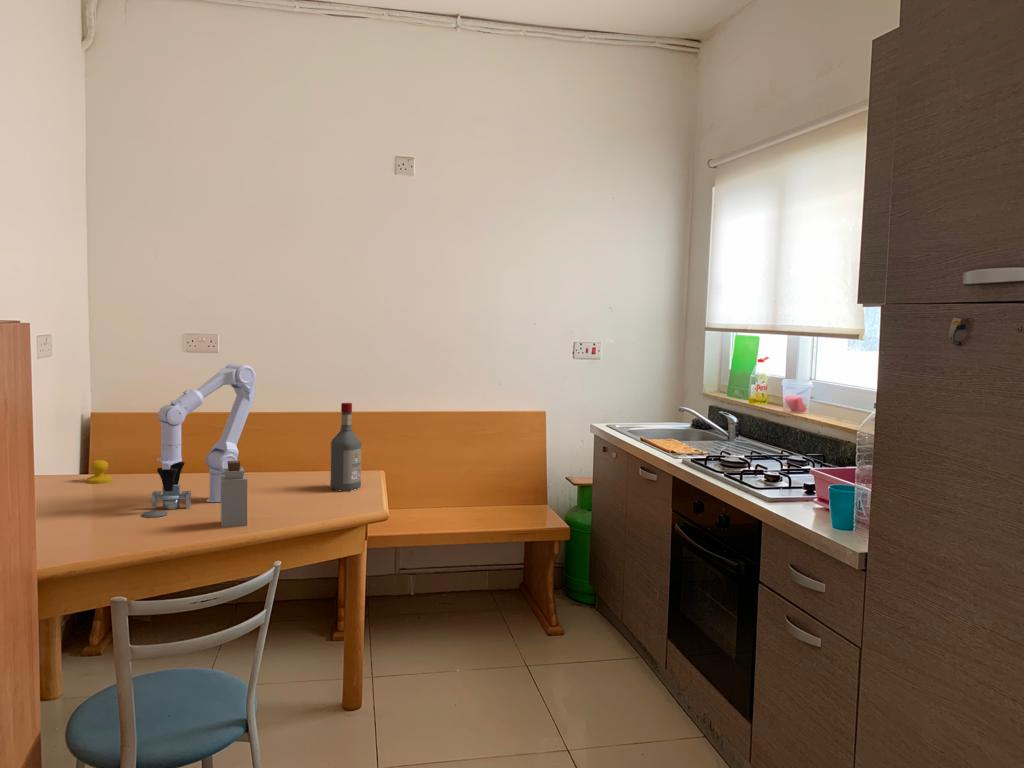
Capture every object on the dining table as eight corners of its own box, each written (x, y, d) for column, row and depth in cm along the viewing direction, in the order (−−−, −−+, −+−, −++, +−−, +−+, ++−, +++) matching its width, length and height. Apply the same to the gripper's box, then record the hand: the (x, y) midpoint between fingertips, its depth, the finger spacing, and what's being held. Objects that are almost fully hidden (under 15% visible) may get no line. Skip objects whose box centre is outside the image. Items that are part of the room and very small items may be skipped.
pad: (170, 511, 238) (170, 510, 238) (164, 517, 231) (164, 516, 231) (145, 511, 236) (145, 510, 236) (138, 517, 229) (138, 516, 229)
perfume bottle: (220, 521, 228) (220, 460, 227) (245, 519, 231) (245, 459, 229) (221, 527, 222) (221, 464, 220) (247, 525, 225) (247, 463, 223)
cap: (187, 496, 245) (187, 483, 245) (183, 500, 240) (183, 487, 239) (159, 496, 244) (159, 483, 243) (155, 500, 238) (155, 487, 238)
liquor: (364, 487, 278) (365, 403, 275) (347, 492, 269) (348, 405, 267) (343, 484, 282) (344, 401, 279) (326, 489, 274) (327, 403, 271)
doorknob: (117, 480, 277) (96, 484, 270) (102, 478, 280) (81, 481, 273) (117, 459, 276) (96, 463, 269) (101, 457, 280) (81, 460, 273)
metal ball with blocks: (191, 505, 245) (191, 489, 245) (188, 509, 240) (188, 493, 240) (154, 506, 243) (154, 490, 243) (150, 510, 238) (150, 494, 238)
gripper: (162, 440, 246) (162, 483, 248) (151, 448, 232) (151, 493, 233) (186, 440, 248) (186, 483, 249) (176, 448, 234) (176, 493, 235)
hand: (171, 488), depth 241 cm, fingers open, 7 cm apart
